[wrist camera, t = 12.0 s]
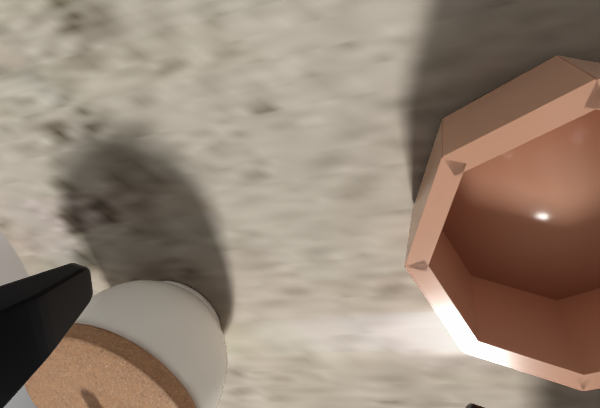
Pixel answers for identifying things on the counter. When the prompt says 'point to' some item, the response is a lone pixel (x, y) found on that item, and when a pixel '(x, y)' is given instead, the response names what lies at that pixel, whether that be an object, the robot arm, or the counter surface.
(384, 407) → the counter surface
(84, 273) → the robot arm
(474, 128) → the bowl
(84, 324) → the lidded jar
